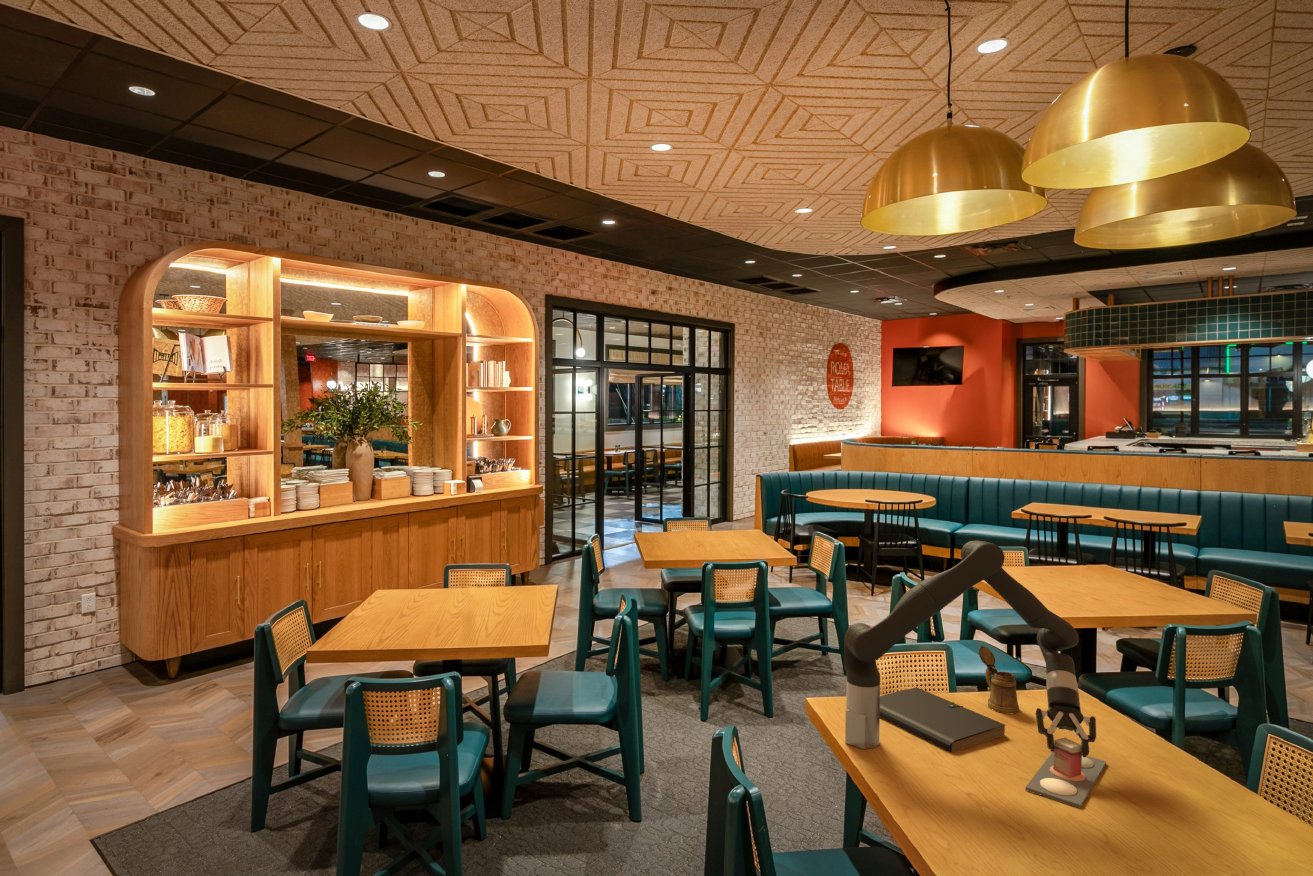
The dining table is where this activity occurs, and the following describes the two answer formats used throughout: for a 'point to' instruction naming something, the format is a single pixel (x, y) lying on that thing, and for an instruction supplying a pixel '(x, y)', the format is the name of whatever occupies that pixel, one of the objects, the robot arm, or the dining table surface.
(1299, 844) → the dining table surface
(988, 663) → the wooden mug
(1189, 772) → the dining table surface
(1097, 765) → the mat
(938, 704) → the file folder
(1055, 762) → the small box
